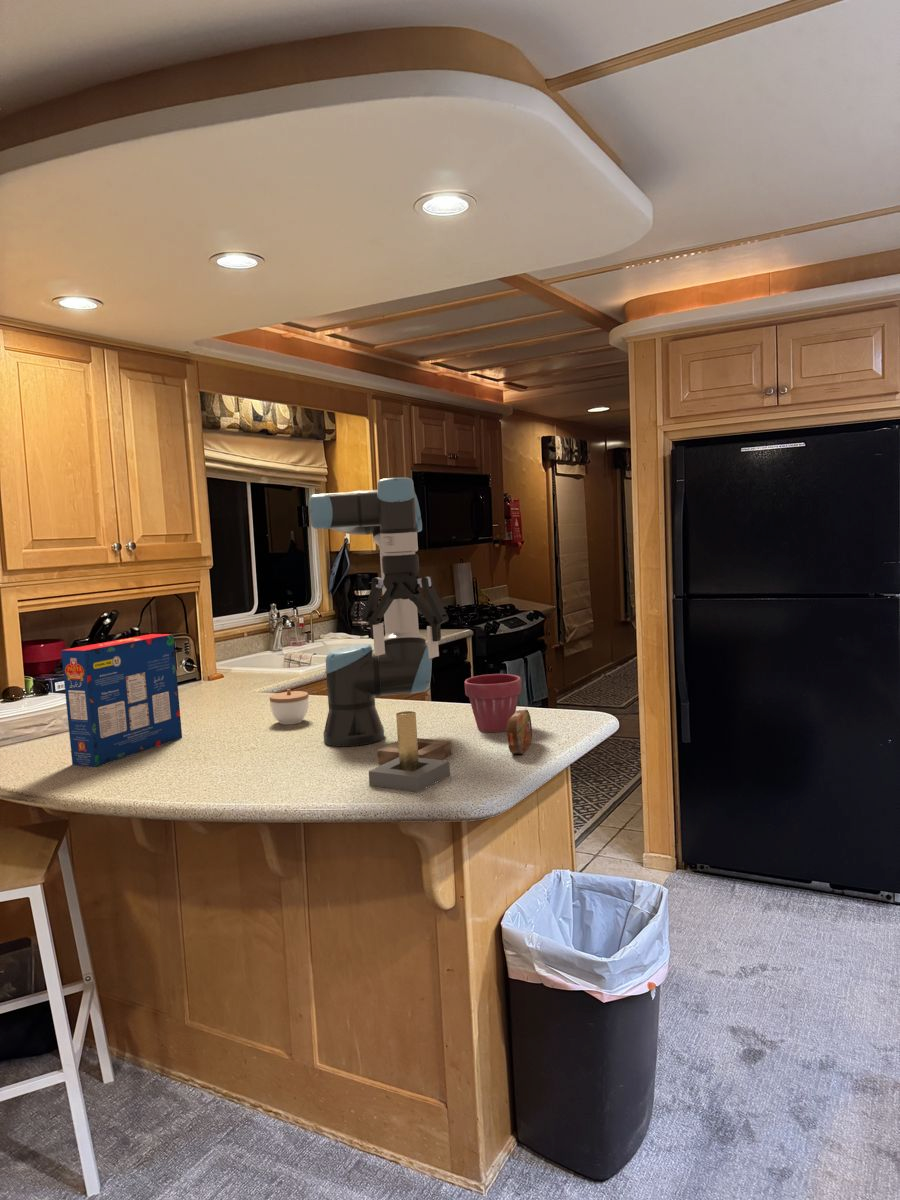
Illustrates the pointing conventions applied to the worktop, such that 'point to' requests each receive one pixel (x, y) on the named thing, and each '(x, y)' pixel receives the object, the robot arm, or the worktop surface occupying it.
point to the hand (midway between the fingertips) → (406, 656)
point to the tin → (519, 732)
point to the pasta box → (121, 698)
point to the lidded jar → (289, 706)
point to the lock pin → (407, 741)
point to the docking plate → (409, 775)
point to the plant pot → (493, 699)
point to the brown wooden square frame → (425, 750)
